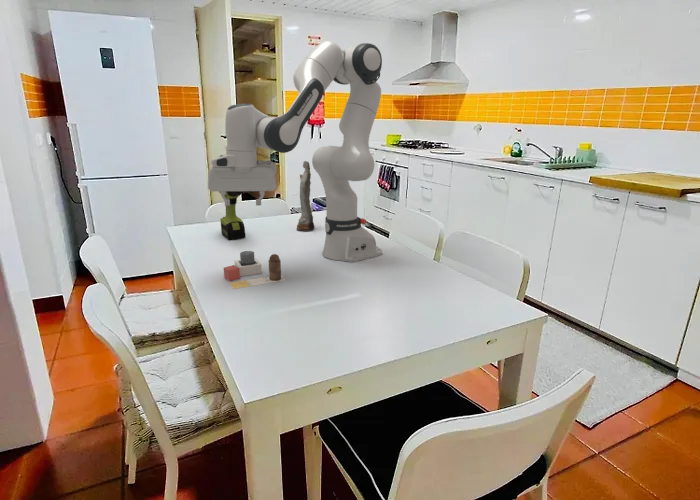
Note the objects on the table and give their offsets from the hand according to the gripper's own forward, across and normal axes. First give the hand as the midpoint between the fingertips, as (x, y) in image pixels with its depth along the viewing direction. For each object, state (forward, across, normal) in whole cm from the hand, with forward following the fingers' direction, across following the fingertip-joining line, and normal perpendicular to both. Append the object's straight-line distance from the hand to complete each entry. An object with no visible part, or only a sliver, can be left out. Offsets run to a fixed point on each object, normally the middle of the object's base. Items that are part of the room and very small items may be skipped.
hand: (243, 205), depth 131 cm
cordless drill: (+22, 0, -40) cm, 46 cm away
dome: (+19, -1, 0) cm, 19 cm away
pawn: (+22, -8, +9) cm, 25 cm away
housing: (+22, -1, 0) cm, 22 cm away
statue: (+20, -31, -46) cm, 59 cm away
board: (+23, -2, +5) cm, 23 cm away
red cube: (+22, +4, +5) cm, 23 cm away
